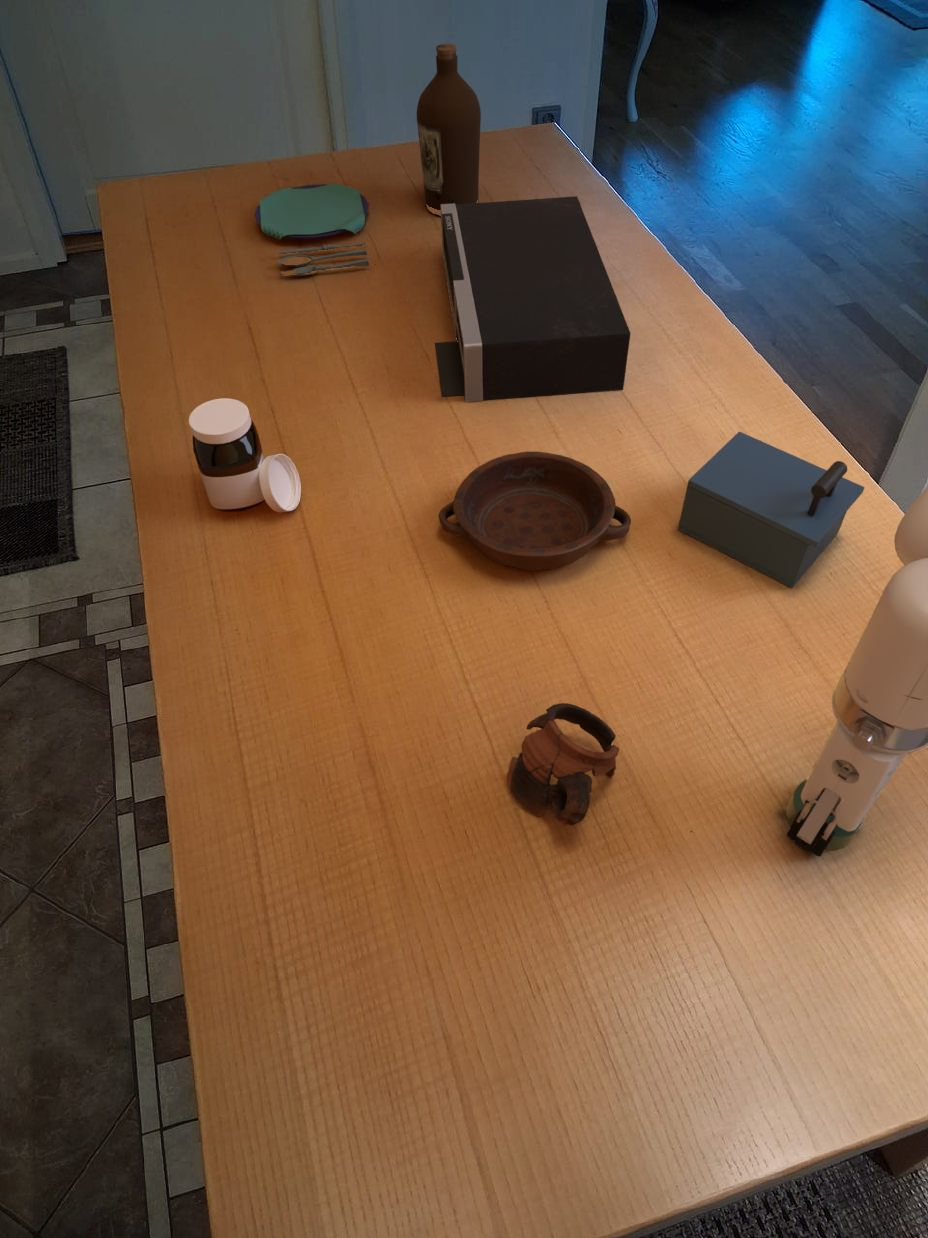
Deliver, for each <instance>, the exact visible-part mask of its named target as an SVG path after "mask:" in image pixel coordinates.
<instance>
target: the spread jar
mask: <svg viewBox="0 0 928 1238" xmlns="http://www.w3.org/2000/svg"><path fill="white" fill-rule="evenodd" d="M188 424H189V427H190V431H191V433H192V449H193V454H194V457H195V462H196V464H197V468H198V471H199V474H200V477H201V480H202V483H203V486H204V490H205V493H206V495H207V498H208V501H209V504H210V505H211V506H212V508H214V509H215V510H217V511H219V512H225V513H240V512H241V513H242V512H247V511H249V510H252V509H254V508H257V507H259V506H260V505H263V504H264V503H266V504H267V505H268V506H269V507H270V509H271V510H273V511H274V512H276V513H287V512H292V511H294V510H295V509H297V507H298V506H299V503H300V501H301V498H302V484H301V478H300V474H299V471H298V469H297V467H296V465H295V462H293V460H292V459H291V458H290V457H289V456H287V455H285V454H283V453H278V454H277V453H276V454H272V455H268V456H266V457H265V455H264V451H263V447H262V442H261V439H260V436H259V432H258V429H257V426H256V425H255V422H254V421H253V420H252V418H251V414H250V410H249V408H248V406H247V405H246V404H245V403H244V402H242V401H240V400H238V399H233V398H228V397H226V398H224V397H222V398H215V399H211V400H208V401H205V402H203V403H201V404H199V405H198V406H196V407H195V408H194V409H193V410H192V412H191V413H190V414H189V417H188Z"/></svg>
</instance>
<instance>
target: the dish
mask: <svg viewBox="0 0 928 1238" xmlns="http://www.w3.org/2000/svg"><path fill="white" fill-rule="evenodd" d="M616 504H617V503H616V498H615V496H614V493H613V491H612V489H611V486H609V483H608V482H607V480H605V478H604V477H603V476H601V475H600V474H599V473H598V472H597V471H595V470H594V469H593V468H592V467H590V466H589V465H587V464H585V463H583V462H581V461H578V460H577V459H574V458H572V457H568V456H565V455H561V454H556V453H551V452H545V451H521V452H516V453H515V452H514V453H509V454H505V455H501V456H499V457H496V458H493V459H490V460H488V461H486V462H485V463H483V464H481V465H479V466H477V467H476V468H474V469H473V470H472V471H471V472H469V474H468V475H467V476H466V477H465V478H464V479H463V480H462V482H461V483H460V485H459V486H458V488H457V490H456V492H455V494H454V497H453V501H451V502H449V503H447V504H446V505H445V506H443V507H442V508H441V509H440V511H439V513H438V521H439V524H440V526H441V528H442V530H444V531H445V532H446V533H448V534H450V535H452V536H457V537H461V538H462V537H464V538H467V539H469V540H471V541H472V542H473V543H474V545H475V546H476V547H477V548H478V550H479V551H480V552H481V553H482V554H483V555H484V556H485V557H488V558H489V559H491V560H492V561H494V562H497V563H498V564H501V565H504V566H507V567H510V568H515V569H521V570H529V571H530V570H531V571H532V570H533V571H534V570H536V571H538V570H539V571H540V570H541V571H543V570H551V569H555V568H559V567H563V566H565V565H568V564H572V563H574V562H575V561H577V560H579V559H580V558H582V557H583V556H584V555H585V554H587V553H588V552H589V551H590V549H592V547H593V546H594V545H596V544H597V543H599V542H608V541H614V540H618V539H622V538H624V537H626V536H627V535H628V533H629V532H630V526H631V524H632V519H631V516H630V514H629V512H627V511H626V510H625V509H624V508H622V507H620V506H618V505H616ZM452 516H454V517H455V519H456V520H457V522H451V521H449V520H448V519H449V518H450V517H452ZM612 520H615V521H617V522H618V523H620V525H611V522H612Z"/></svg>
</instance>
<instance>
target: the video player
mask: <svg viewBox="0 0 928 1238" xmlns="http://www.w3.org/2000/svg"><path fill="white" fill-rule="evenodd" d="M440 223H441V224H440V225H441V245H442V249H441V250H442V258H443V257H444V260H443V259H442V261H443V266H444V264H445V266H444V273H445V280H446V285H447V283H448V285H447V291H448V290H449V291H448V297H449V296H450V297H449V298H448V299H449V305H450V311H451V318H452V322H454V323H453V329H454V328H455V329H454V334H456V335H454V337H455V341H454V340H453V341H441V342H438V341H437V342H434V347H435V358H436V365H437V372H438V380H439V381H438V382H439V387H440V396H441V398H446V397H447V398H448V397H457V396H458V397H461V396H464V400H465V403H478V402H483V401H493V400H494V401H495V400H496V401H497V400H508V399H509V400H510V399H521V398H522V399H523V398H534V397H544V396H545V397H547V396H558V395H559V396H560V395H572V394H573V395H574V394H584V393H596V392H597V393H599V392H610V391H611V392H612V391H623V390H624V385H625V379H626V373H627V372H626V371H627V363H628V362H627V361H628V356H629V348H630V347H629V346H630V340H631V331H630V329H629V325H628V323H627V320H626V319H625V315H624V313H623V310H622V307H621V305H620V302H619V300H618V298H617V295H616V292H615V290H614V287H613V285H612V283H611V282H612V281H611V280H610V276H609V274H608V272H607V270H606V267H605V264H604V262H603V258H602V257H601V254H600V252H599V249H598V246H597V244H596V241H595V239H594V236H593V234H592V231H591V229H590V226H589V223H588V221H587V218H586V216H585V213H584V211H583V208H582V205H581V202H580V200H579V198H578V196H577V195H575V196H574V195H573V196H562V197H561V196H560V197H549V198H548V197H546V198H545V197H544V198H532V199H517V200H516V199H515V200H504V201H503V200H502V201H489V202H478V203H472V204H457V205H455V204H441V216H440ZM445 270H446V272H445ZM446 277H447V279H446ZM450 302H451V304H450ZM451 308H452V310H451ZM452 315H453V316H452ZM456 338H457V340H456ZM457 341H458V342H457Z"/></svg>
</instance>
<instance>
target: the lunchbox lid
mask: <svg viewBox="0 0 928 1238" xmlns="http://www.w3.org/2000/svg"><path fill="white" fill-rule="evenodd" d="M847 472H848V465H847V464H846V463H845V462H844V461H841V460H836V461H835V462H833V463H832V464H831V465H830V467H829V468H828V469H825V468H823V467H820V466H818V465H816V464H814V463H811V462H810V461H807V460H805V459H803V458H800V457H798V456H796V455H794V454H792V453H789V452H787V451H784V450H782V449H780V448H778V447H776V446H773V445H771V444H769V443H766V442H764V441H763V440H760V439H757V438H755V437H753V436H751V435H748V434H746V433H744V432H741V431H738V432H737V433H736V434H735V435H734V436H733V437H731V439H729V440H728V441H727V442H726V443H725V444H724V446H722V447H721V448H720V449H719V450H718V451H717V452H716V453H715V454H714V455H713V456H711V458H709V460H708V461H707V462H706V463H704V464H703V465H702V466H701V467H700V469H698V470H697V471H696V472H695V473H694V474H693V475H692V476H691V477H689V479H688V480H687V486H690V487H692V488H694V489H696V490H698V491H700V492H702V493H704V494H707V495H709V496H711V497H713V498H715V499H717V500H719V501H721V502H723V503H725V504H727V505H729V506H731V507H733V508H735V509H737V510H739V511H741V512H743V513H745V514H748V515H750V516H752V517H754V518H756V519H758V520H760V521H762V522H764V523H766V524H768V525H770V526H772V527H774V528H776V529H778V530H780V531H782V532H784V533H786V534H788V535H791V536H793V537H795V538H797V539H799V540H801V541H803V542H805V543H807V544H809V545H811V546H813V547H815V548H816V547H817V546H818V545H819V543H820V542H821V541H822V540H823V539H824V537H825V536H826V535H827V534H828V533H829V532H830V530H831V529H832V528H833V527H834V526H835V524H836V523H837V522H838V521H839V520H840V519H841V517H842V516H843V515H844V514H845V513H846V514H847V512H848V510H849V509H850V508H851V507H853V505H854V503H855V502H856V501H857V500H858V499H859V498H860V496H861V495H863V493H864V490H865V486H863V485H861V484H858V483H857V482H855V481H852V480H851V479H847V478H845V477H844V476H845V475H846V473H847Z"/></svg>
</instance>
